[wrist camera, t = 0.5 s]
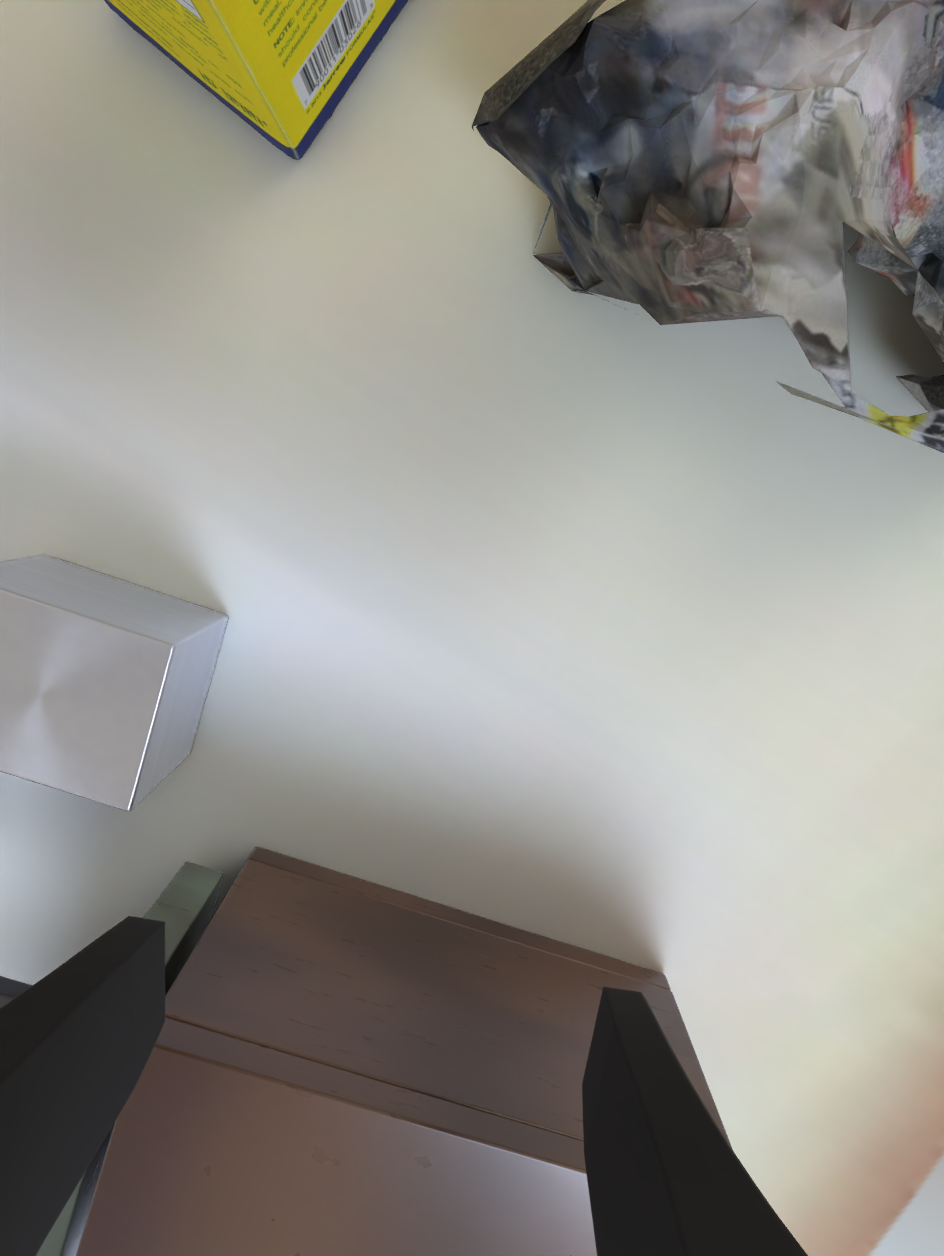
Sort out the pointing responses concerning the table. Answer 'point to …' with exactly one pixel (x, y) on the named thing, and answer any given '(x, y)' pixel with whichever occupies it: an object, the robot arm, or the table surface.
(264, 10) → the supplement box
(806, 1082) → the table surface
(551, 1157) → the cabinet
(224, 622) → the shiny metal block
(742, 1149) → the table surface
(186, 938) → the drawer
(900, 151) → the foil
